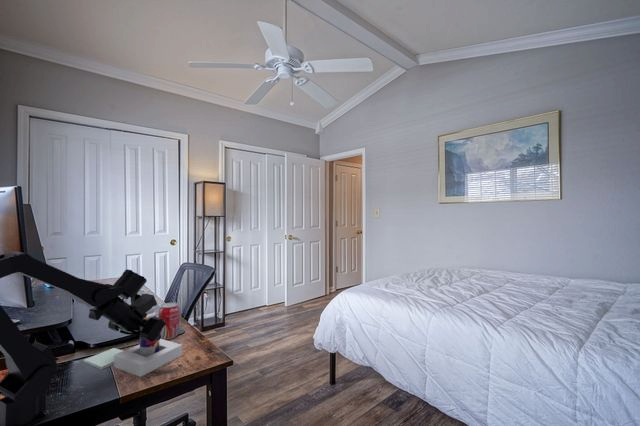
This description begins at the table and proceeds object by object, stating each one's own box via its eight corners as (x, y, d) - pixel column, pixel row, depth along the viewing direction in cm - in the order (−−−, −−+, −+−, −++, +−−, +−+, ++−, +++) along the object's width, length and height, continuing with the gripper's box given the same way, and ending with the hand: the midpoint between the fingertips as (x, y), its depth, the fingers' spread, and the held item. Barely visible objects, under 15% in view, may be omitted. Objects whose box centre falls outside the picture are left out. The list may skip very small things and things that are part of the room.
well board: (140, 376, 83) (140, 364, 83) (113, 366, 88) (114, 355, 88) (181, 355, 96) (181, 344, 96) (156, 347, 101) (156, 337, 101)
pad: (101, 369, 86) (101, 366, 86) (83, 362, 90) (83, 359, 90) (131, 356, 94) (131, 353, 94) (114, 350, 98) (114, 347, 98)
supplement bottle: (136, 333, 112) (137, 308, 112) (150, 328, 116) (151, 304, 116) (145, 336, 109) (145, 310, 109) (158, 331, 114) (159, 306, 114)
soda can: (158, 334, 111) (159, 302, 111) (179, 331, 114) (180, 301, 114) (156, 342, 105) (157, 308, 105) (178, 339, 108) (179, 306, 108)
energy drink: (149, 366, 89) (151, 326, 89) (134, 364, 90) (136, 324, 90) (162, 357, 94) (163, 320, 94) (148, 355, 95) (149, 318, 95)
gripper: (161, 291, 85) (190, 318, 95) (119, 283, 92) (151, 308, 102) (133, 328, 77) (168, 352, 87) (90, 316, 85) (127, 340, 95)
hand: (154, 336), depth 93 cm, fingers closed on energy drink, 5 cm apart
